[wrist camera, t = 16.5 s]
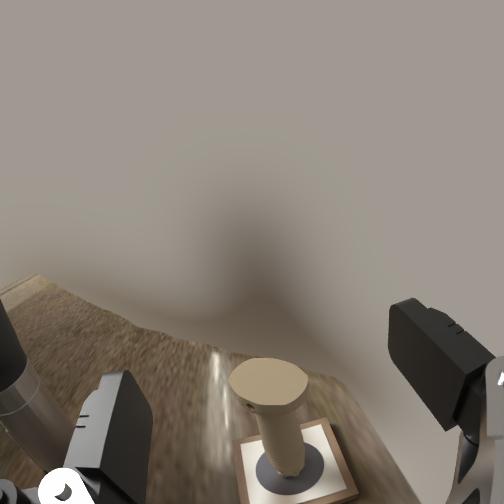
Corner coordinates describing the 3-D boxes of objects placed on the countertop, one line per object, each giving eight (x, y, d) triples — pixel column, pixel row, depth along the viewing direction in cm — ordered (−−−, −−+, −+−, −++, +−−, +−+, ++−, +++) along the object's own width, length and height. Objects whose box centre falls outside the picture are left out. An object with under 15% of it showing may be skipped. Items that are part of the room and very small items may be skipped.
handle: (278, 442, 32) (253, 351, 27) (326, 461, 28) (318, 371, 22) (253, 471, 28) (216, 386, 23) (302, 494, 24) (284, 415, 19)
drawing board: (246, 526, 23) (242, 521, 22) (235, 447, 34) (231, 439, 33) (357, 498, 24) (358, 492, 23) (326, 424, 35) (326, 415, 34)
